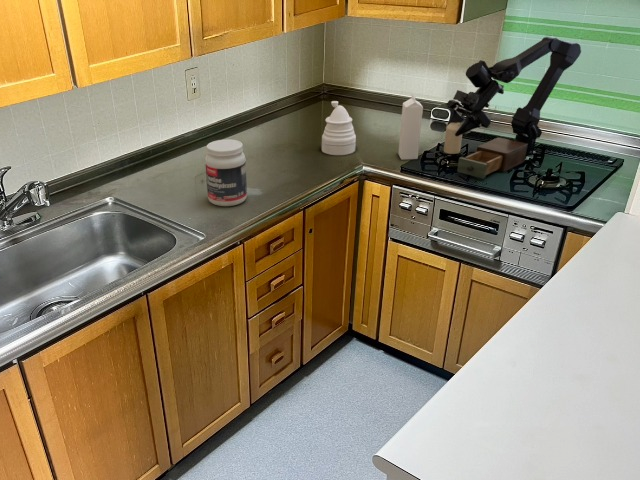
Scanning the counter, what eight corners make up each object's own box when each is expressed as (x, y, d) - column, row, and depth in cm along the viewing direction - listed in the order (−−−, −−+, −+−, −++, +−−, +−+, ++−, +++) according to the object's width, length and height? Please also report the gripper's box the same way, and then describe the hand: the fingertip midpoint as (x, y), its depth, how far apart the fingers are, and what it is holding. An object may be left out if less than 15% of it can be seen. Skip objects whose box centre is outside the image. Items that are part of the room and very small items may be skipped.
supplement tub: (204, 207, 199) (200, 151, 190) (211, 192, 210) (207, 138, 200) (244, 208, 197) (242, 151, 188) (249, 192, 208) (247, 138, 199)
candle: (458, 148, 220) (462, 120, 215) (461, 153, 215) (465, 125, 210) (442, 149, 221) (445, 120, 215) (445, 154, 216) (448, 125, 211)
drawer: (481, 179, 206) (483, 165, 203) (455, 172, 212) (456, 158, 210) (503, 168, 213) (506, 155, 210) (477, 162, 219) (479, 148, 217)
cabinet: (503, 172, 212) (507, 153, 209) (474, 164, 220) (477, 146, 216) (524, 162, 220) (528, 143, 216) (495, 155, 227) (498, 137, 224)
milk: (401, 159, 228) (406, 98, 216) (398, 154, 233) (403, 93, 221) (418, 159, 227) (424, 97, 216) (414, 153, 233) (420, 93, 221)
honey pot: (318, 154, 237) (319, 106, 228) (325, 143, 248) (326, 97, 238) (352, 156, 234) (354, 107, 224) (357, 145, 244) (360, 98, 234)
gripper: (453, 75, 214) (422, 112, 217) (488, 86, 199) (454, 126, 202) (470, 95, 220) (439, 131, 224) (505, 108, 205) (472, 146, 208)
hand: (450, 133), depth 214 cm, fingers closed on candle, 5 cm apart
